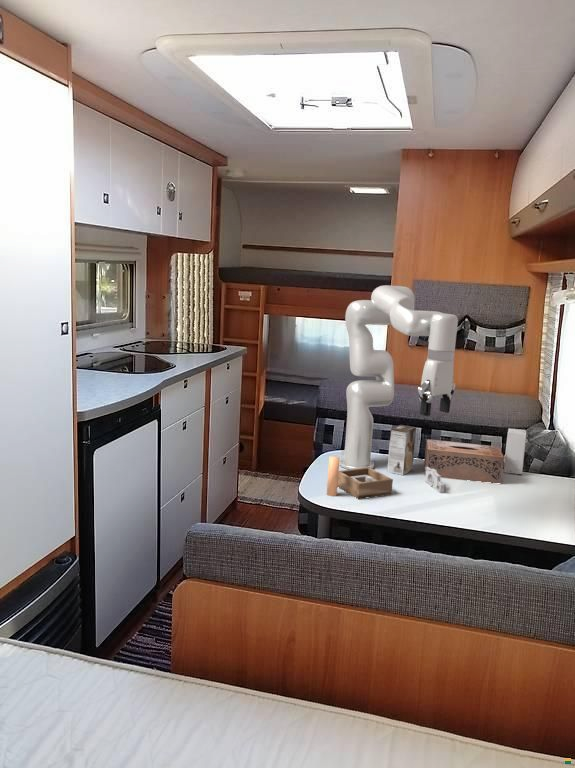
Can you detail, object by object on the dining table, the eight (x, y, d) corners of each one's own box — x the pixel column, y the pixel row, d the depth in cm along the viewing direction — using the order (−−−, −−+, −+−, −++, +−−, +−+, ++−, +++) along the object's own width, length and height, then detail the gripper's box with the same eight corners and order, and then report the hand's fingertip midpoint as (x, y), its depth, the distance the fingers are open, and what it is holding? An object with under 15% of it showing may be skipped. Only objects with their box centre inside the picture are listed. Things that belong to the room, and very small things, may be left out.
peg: (324, 493, 193) (327, 456, 191) (333, 492, 195) (336, 455, 193) (330, 496, 191) (332, 459, 189) (338, 495, 192) (341, 458, 190)
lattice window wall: (444, 493, 200) (446, 476, 199) (439, 493, 200) (441, 476, 199) (428, 481, 212) (429, 464, 211) (423, 481, 211) (425, 464, 210)
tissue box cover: (495, 472, 227) (498, 446, 225) (500, 485, 213) (504, 457, 211) (424, 464, 231) (426, 439, 230) (425, 476, 218) (427, 449, 216)
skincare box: (521, 475, 224) (527, 434, 222) (502, 472, 226) (507, 431, 224) (521, 469, 232) (526, 429, 229) (503, 466, 234) (508, 427, 231)
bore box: (335, 485, 201) (336, 471, 200) (367, 481, 207) (368, 467, 206) (357, 499, 190) (359, 483, 189) (391, 494, 196) (392, 479, 195)
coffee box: (396, 466, 227) (400, 423, 224) (412, 469, 223) (416, 427, 221) (386, 472, 219) (390, 428, 216) (403, 475, 216) (407, 431, 213)
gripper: (446, 353, 187) (440, 408, 190) (412, 355, 175) (406, 414, 178) (468, 356, 181) (462, 413, 184) (434, 359, 170) (427, 419, 173)
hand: (434, 413), depth 181 cm, fingers open, 9 cm apart
